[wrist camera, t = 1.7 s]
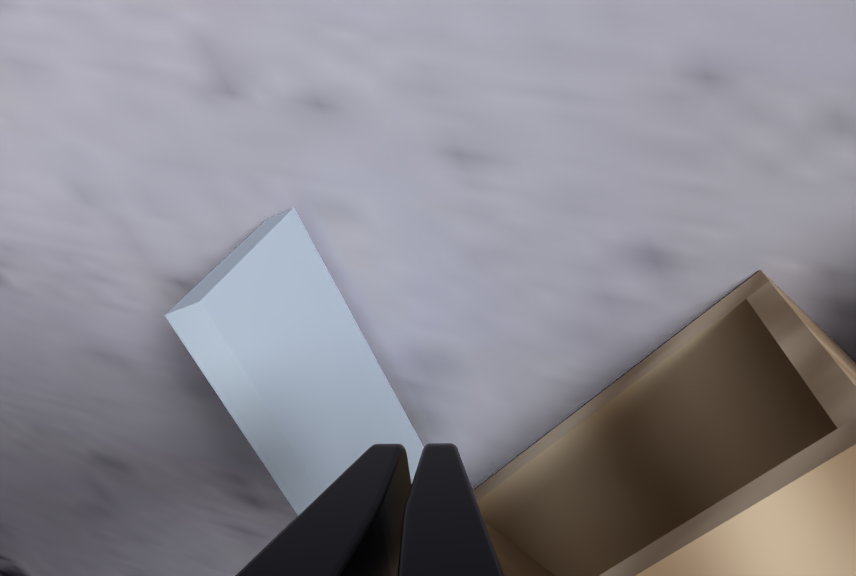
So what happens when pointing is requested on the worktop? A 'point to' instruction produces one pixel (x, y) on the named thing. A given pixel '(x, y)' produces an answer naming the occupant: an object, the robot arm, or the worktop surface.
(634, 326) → the worktop surface
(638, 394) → the cabinet
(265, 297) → the door
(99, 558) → the worktop surface
